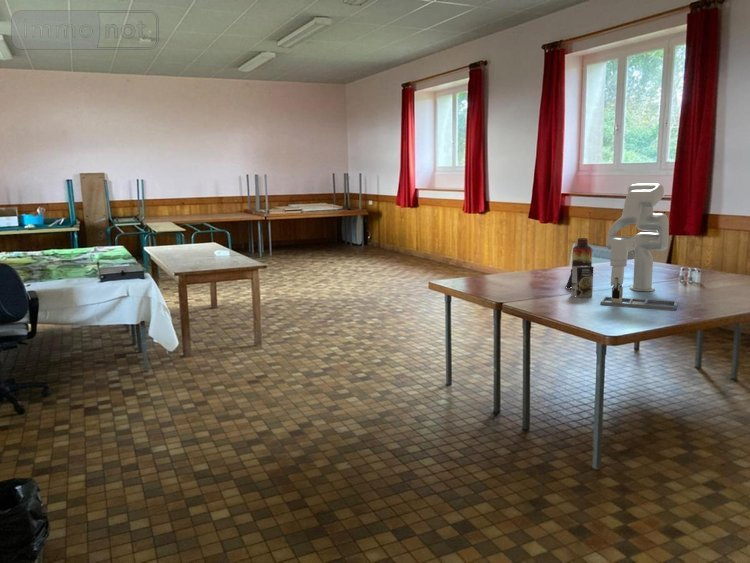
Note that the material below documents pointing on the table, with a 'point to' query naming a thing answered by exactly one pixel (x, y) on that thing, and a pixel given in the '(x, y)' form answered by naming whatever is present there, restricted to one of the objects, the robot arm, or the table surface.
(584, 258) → the vase
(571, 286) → the phone stand
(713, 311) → the table surface
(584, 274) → the coffee box
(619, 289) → the tan wooden block
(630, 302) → the grey flat frame
